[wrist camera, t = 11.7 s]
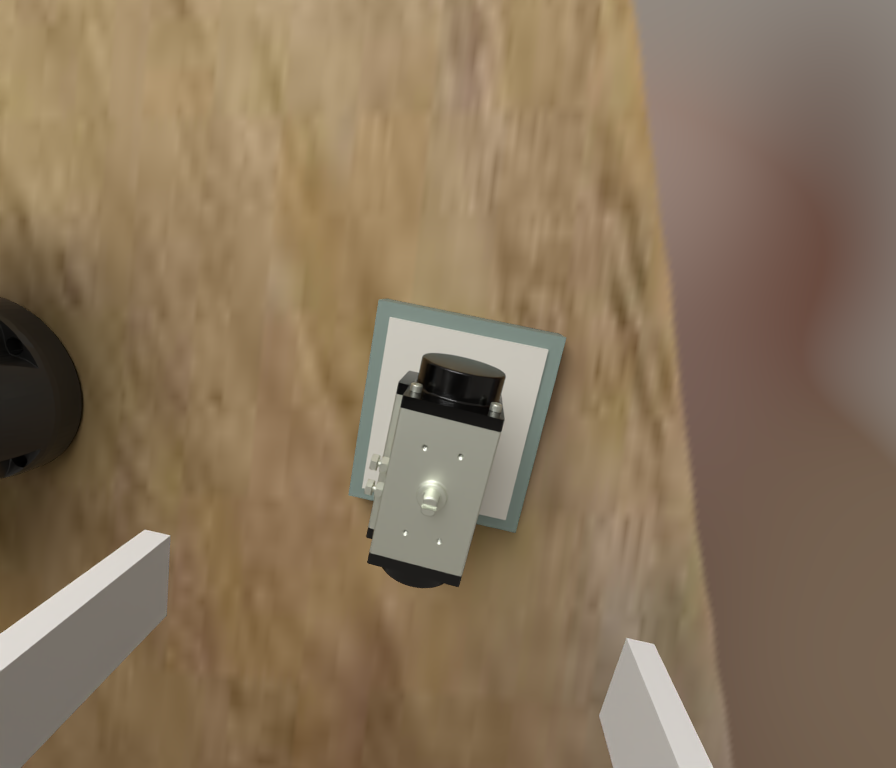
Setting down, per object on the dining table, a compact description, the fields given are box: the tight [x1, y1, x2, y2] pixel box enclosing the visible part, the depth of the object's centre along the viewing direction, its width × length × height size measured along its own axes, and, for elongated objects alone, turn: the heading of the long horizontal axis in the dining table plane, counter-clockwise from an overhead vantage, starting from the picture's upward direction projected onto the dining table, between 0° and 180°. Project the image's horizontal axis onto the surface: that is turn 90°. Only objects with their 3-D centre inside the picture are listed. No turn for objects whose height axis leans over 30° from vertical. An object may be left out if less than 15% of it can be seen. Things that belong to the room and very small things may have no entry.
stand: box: [349, 299, 566, 533], centre depth 32 cm, size 13×15×3 cm
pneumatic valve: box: [364, 353, 506, 588], centre depth 25 cm, size 6×12×12 cm, turn 167°
